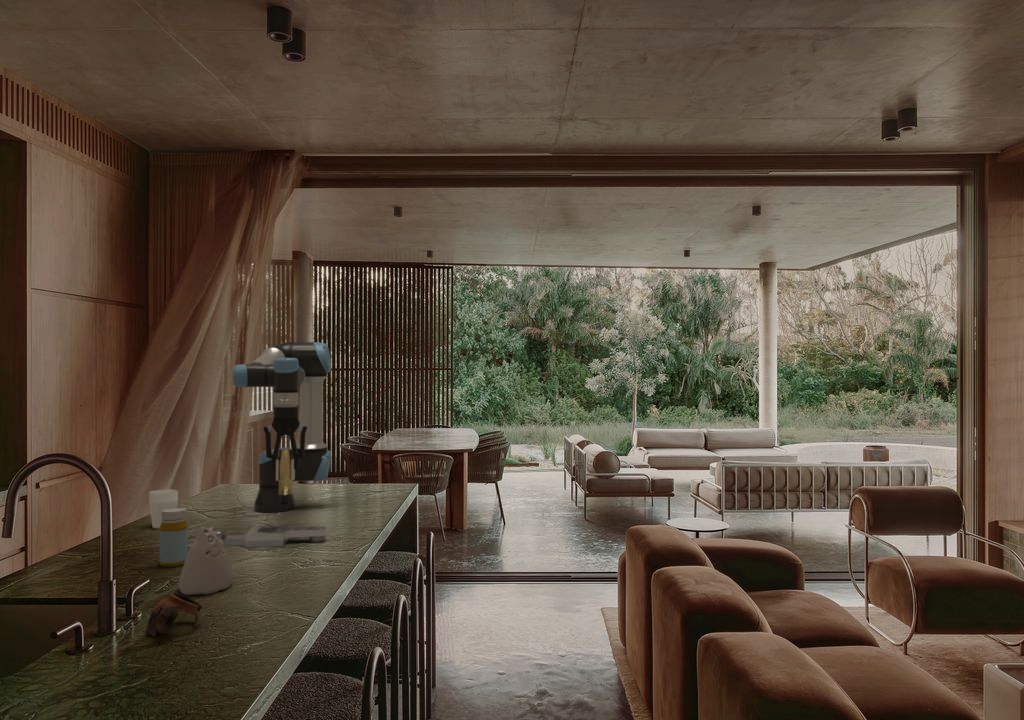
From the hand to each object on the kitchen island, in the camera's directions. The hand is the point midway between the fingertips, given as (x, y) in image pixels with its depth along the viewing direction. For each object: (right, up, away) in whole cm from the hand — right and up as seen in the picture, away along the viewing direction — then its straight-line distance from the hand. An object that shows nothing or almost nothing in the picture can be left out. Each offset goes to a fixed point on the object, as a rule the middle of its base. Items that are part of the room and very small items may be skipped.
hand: (285, 479), depth 218 cm
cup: (-48, -19, +18) cm, 54 cm away
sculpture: (-3, -19, -49) cm, 52 cm away
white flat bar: (-4, -19, -4) cm, 20 cm away
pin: (0, -5, 0) cm, 5 cm away
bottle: (-22, -19, -28) cm, 40 cm away
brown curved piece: (+2, -18, -76) cm, 79 cm away
